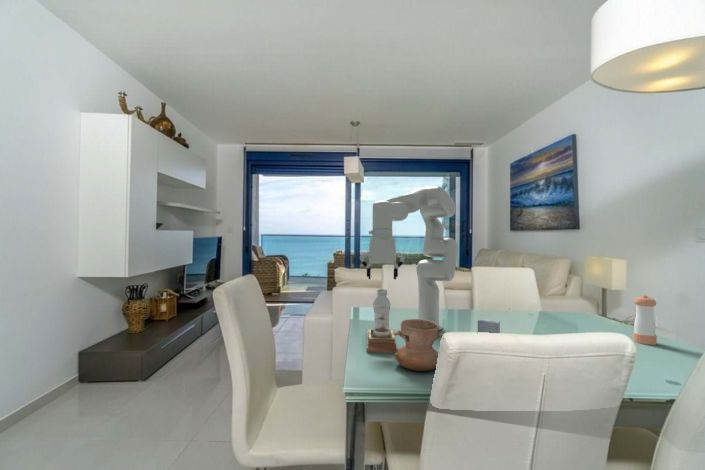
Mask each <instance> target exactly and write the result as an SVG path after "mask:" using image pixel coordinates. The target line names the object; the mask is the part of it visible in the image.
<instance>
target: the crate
mask: <svg viewBox="0 0 705 470" xmlns="http://www.w3.org/2000/svg"><path fill="white" fill-rule="evenodd" d="M373 331H374V328H368V343H386V344H395V341H396V337H395V335H394V334H393V329H392V328H389V331H390V338H373Z"/></svg>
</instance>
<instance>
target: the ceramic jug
mask: <svg viewBox="0 0 705 470" xmlns="http://www.w3.org/2000/svg"><path fill="white" fill-rule="evenodd" d="M438 328H439V325H438V324H437V323H435V322H433V321H429V320H424V319H418V318H410V319H409V318H407V319H403V320H401V321H400V330H397V329H396V330H394V331H393V330H392V331H393V334H394V336H399V337H400V338H402V339H403V340H404V342H405V345H402V347H400V348H399V349H398V351H397V352H396V353H394V358H395V360H396V361H397V363H398V364H399V365H400V366H402V367H404V368H405V369H407V370H410V371H415V372H428V371H433V370H435V369H437V368H436V364H437V358H438V353H439V351H438V350H436V349H435V348H434V346H433V344H434V342H435V341H437V340H438V339H441V338H442V336H443V334H444V333H438V332H439V330H438ZM442 339H443V338H442Z"/></svg>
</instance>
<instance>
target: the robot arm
mask: <svg viewBox="0 0 705 470" xmlns="http://www.w3.org/2000/svg"><path fill="white" fill-rule="evenodd" d="M418 211H419V213H420V215H421V218H422V219H423V222H424V225H425V232H424V233H425V234H424V239H423V246H422V252H423V255H424V256H425V257H429V259H427V258H426V259H422V260H419V261H418V263H417V264H416V268H415V269H416V277H417V283H418V284H417V285H418V286H417V287H418V292H417V293H418V302H417V303H418V304H417V305H418V311H417V313H418V314H417V319H424V320H429V321H433V322H435V323H437V324H438V325H439V328H438V331H440V330H442V329H443V324H441V323H440V288H439V285H438V284H437V282H451V281H452V280H453V279H454V277H455V273H456V266H457V259H458V244H457V241H456V240H455V239H454V238H452V237H444V233H445V232H444V231H445V228H444V225H443V224H442V222H441V221H440V219H441V218H451V217H453V216H454V215H455V214H456V211H457V207H456V202H455V201H454V199H453V198H452V197H451V196H450V194H449V193H448V192H447V191H446V190H445V189H444V188H443V187H442V186H439V185H437V186H426V187H419V188H417V189H414V190H412V191H410V192H408V193H405V194H401V195H398V196H395V197H391V198H388V199H384V200H378V201H377V200H376V201H374V202H373V204H372V229H371V230H368V235H371V237H370V238H369V245H368V252H366V253H365V254H362V255H360V256H359V261H360V262H361V264H362V265H363V266H364V268H366V277H367V278H368V280H371V273H372V272H371V266H372V265H373V264H374V265H377V264H378V265H392V266H393V267H394V268H393V280H397V278H398V277H399V271H398V270H399V269H400V267H401V266H402V265H403V264H404V262H405V259H406V256H404V255H402V254H400V253H398V252H397V249H396V247H397V246H396V239H395V237H393V222H403V221H404V220H406V219H407V218H408V216H409V214H412V213H413V214H414V213H416V212H418ZM439 218H440V219H439ZM366 258H368V263H367V262H366V261H365V259H366ZM397 258H400V261H399V262H398V263H397ZM430 258H434V259H430ZM435 258H437V259H435ZM439 258H440V259H441V260H440V259H439ZM442 259H443V260H442ZM436 281H437V282H436Z"/></svg>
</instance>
